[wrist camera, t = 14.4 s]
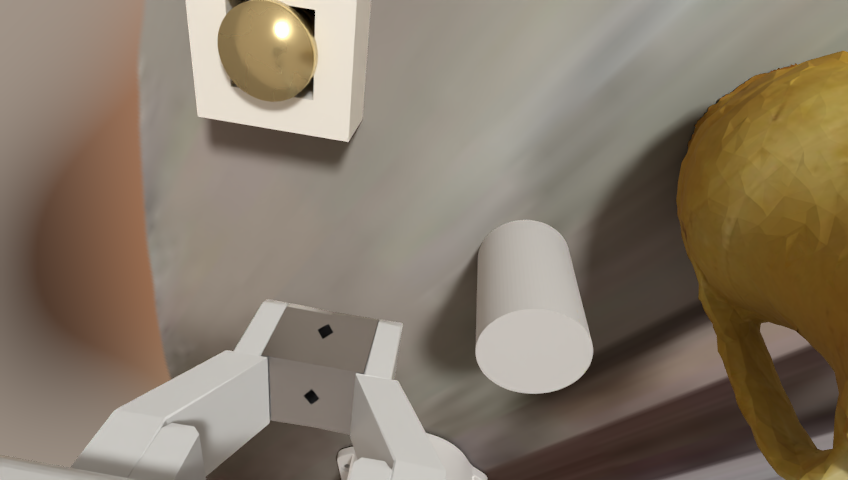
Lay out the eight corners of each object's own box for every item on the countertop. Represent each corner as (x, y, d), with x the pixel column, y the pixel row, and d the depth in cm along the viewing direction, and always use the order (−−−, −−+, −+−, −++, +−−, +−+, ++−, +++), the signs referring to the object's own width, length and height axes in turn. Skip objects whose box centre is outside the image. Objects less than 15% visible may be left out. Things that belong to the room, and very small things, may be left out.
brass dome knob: (333, 85, 39) (312, 108, 34) (254, 72, 39) (221, 93, 34) (336, -3, 36) (313, 9, 31) (249, -17, 36) (213, -7, 31)
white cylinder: (500, 305, 49) (504, 404, 39) (462, 240, 46) (455, 331, 36) (582, 277, 47) (609, 375, 36) (548, 205, 43) (567, 293, 33)
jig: (362, 119, 41) (348, 142, 37) (227, 96, 41) (197, 116, 37) (374, -36, 35) (358, -30, 31) (216, -62, 35) (179, -60, 31)
